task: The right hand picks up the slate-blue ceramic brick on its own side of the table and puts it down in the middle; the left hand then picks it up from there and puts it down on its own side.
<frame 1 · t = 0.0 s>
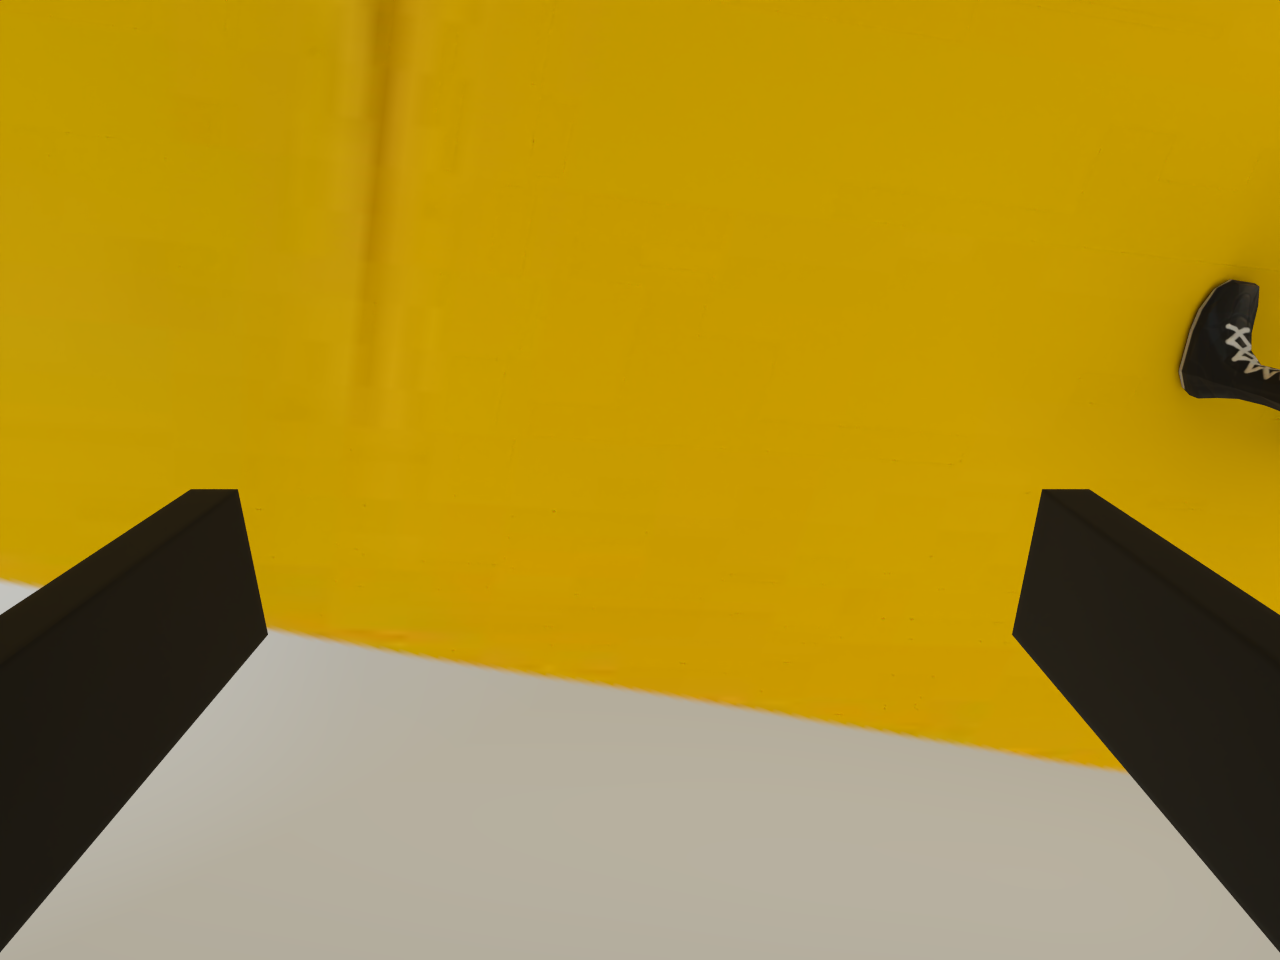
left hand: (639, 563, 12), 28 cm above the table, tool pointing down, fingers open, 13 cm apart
figurine: (1274, 366, 40), on the table
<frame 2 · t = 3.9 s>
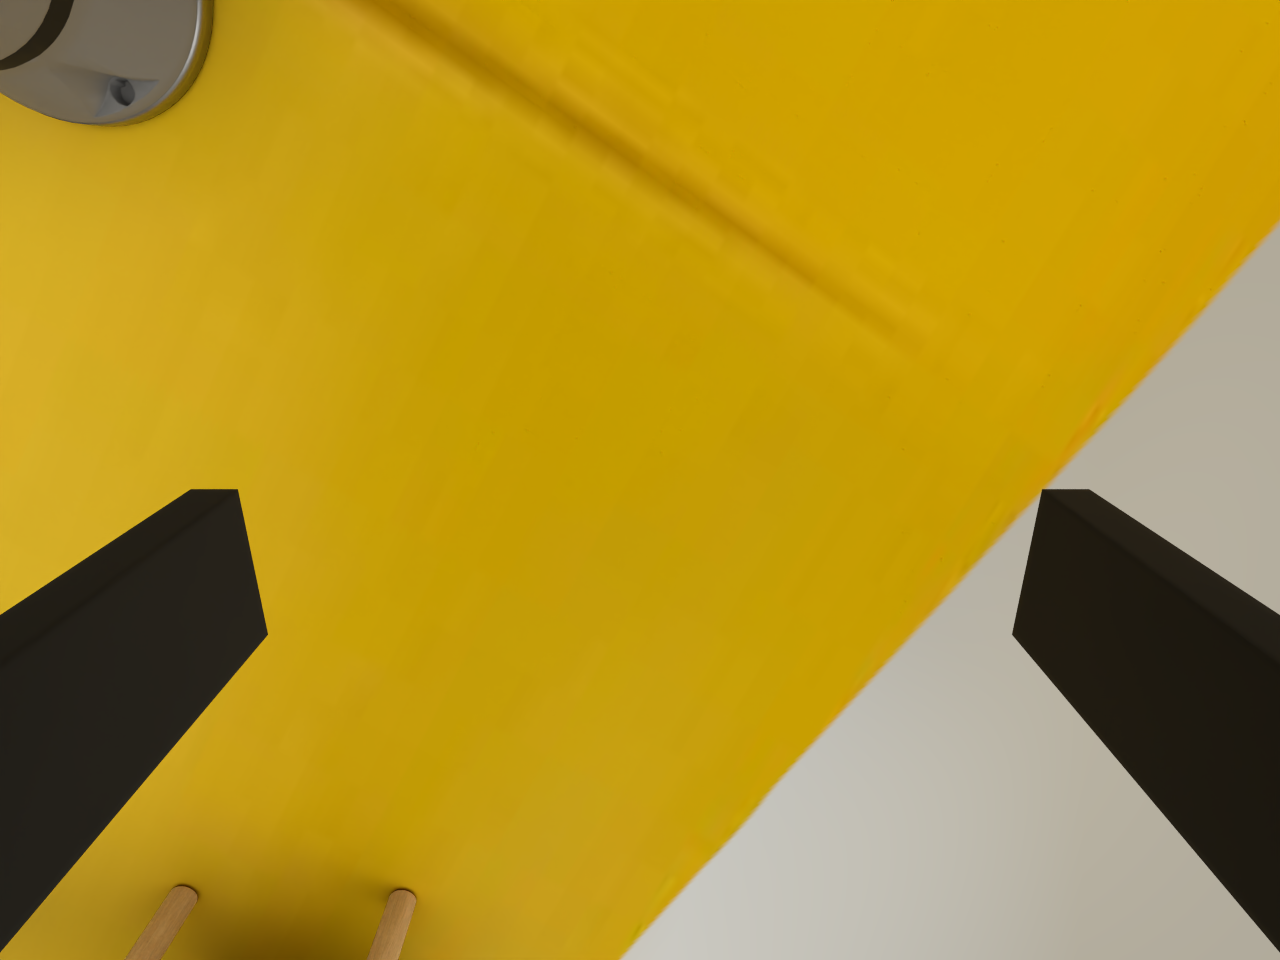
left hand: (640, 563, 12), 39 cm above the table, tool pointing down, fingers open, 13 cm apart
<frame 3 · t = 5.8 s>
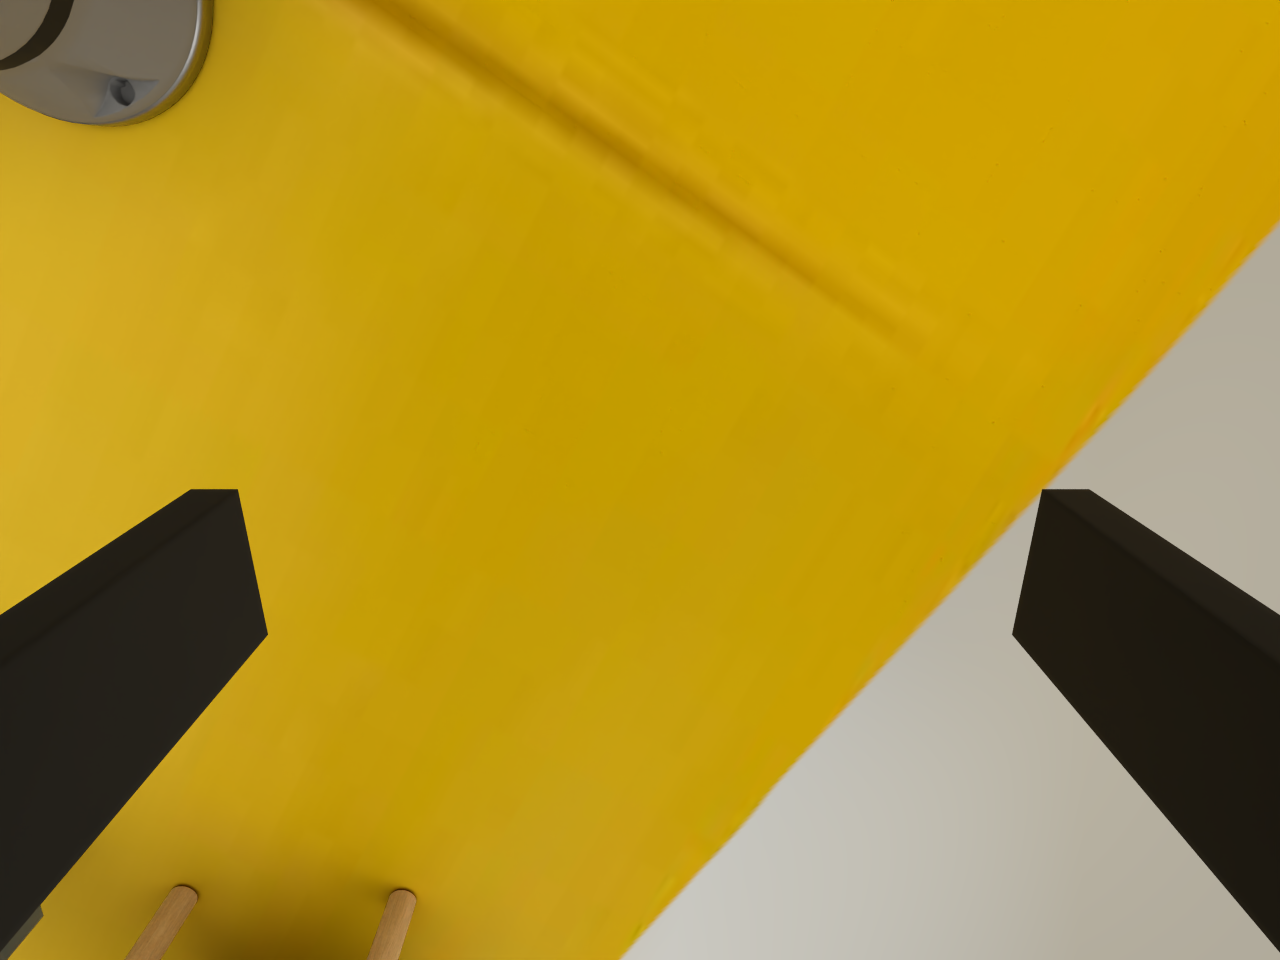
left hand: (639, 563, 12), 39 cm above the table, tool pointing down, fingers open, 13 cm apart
when the right hand's fingers open (5 cm above the table, at t = 7.9 s): brick drops 1 cm, on the table.
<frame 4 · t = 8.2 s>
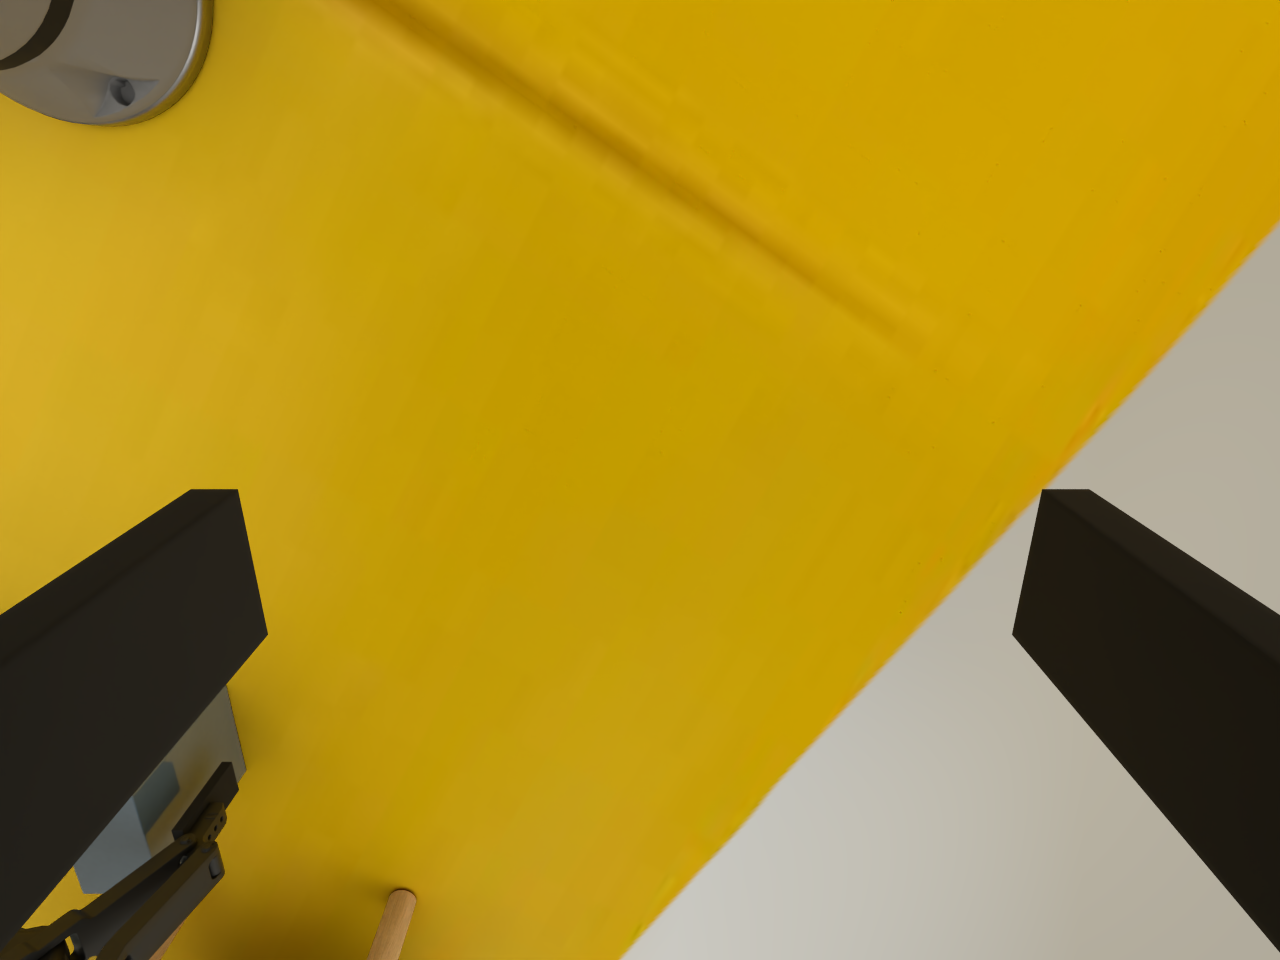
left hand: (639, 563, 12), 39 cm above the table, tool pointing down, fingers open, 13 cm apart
right hand: (165, 776, 57), fingers open, 9 cm apart
brick: (203, 728, 62), on the table
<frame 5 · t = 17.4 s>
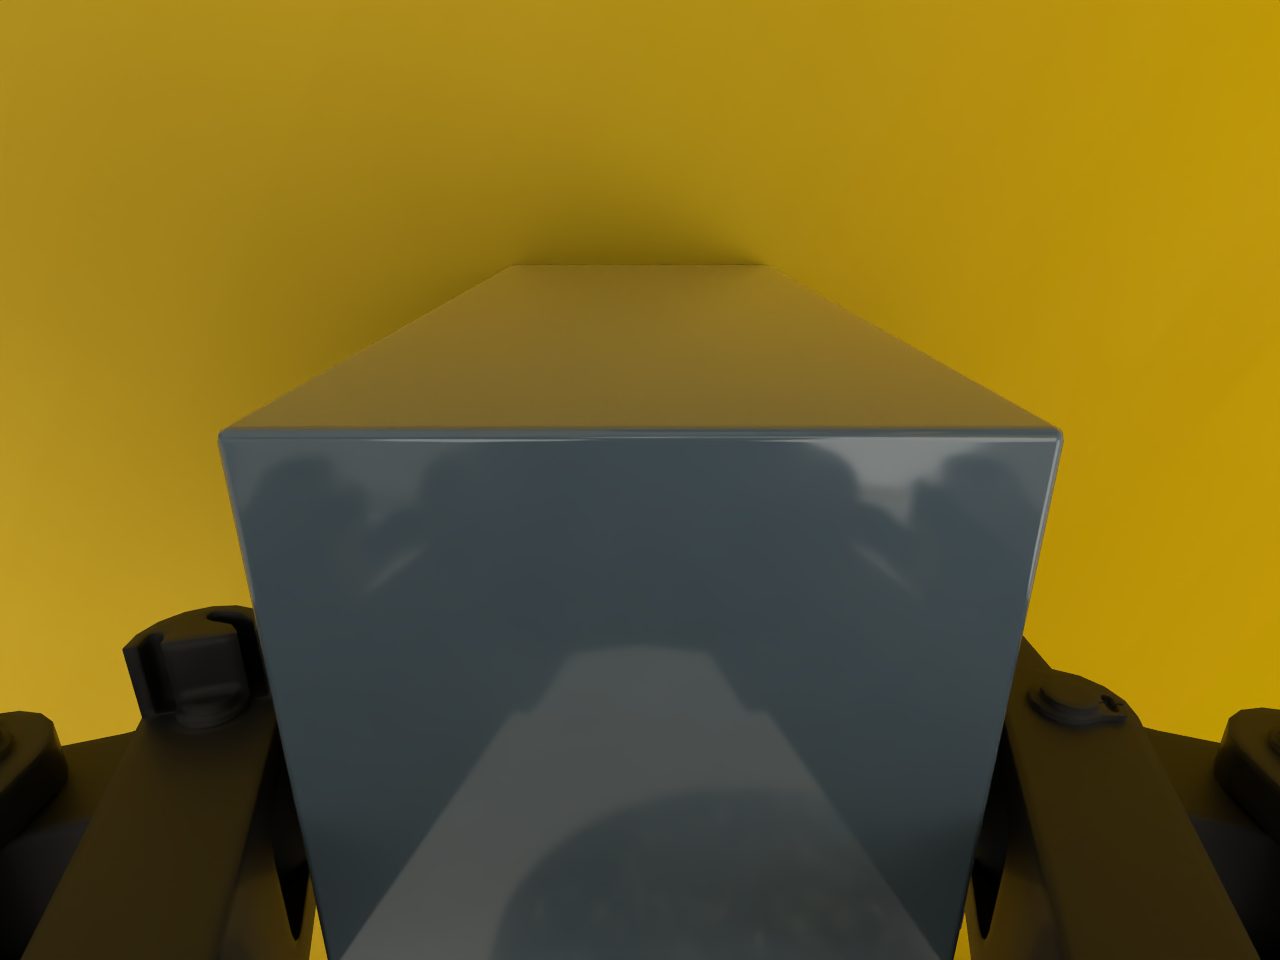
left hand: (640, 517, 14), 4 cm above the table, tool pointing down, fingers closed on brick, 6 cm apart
brick: (639, 457, 18), on the table, touching left hand
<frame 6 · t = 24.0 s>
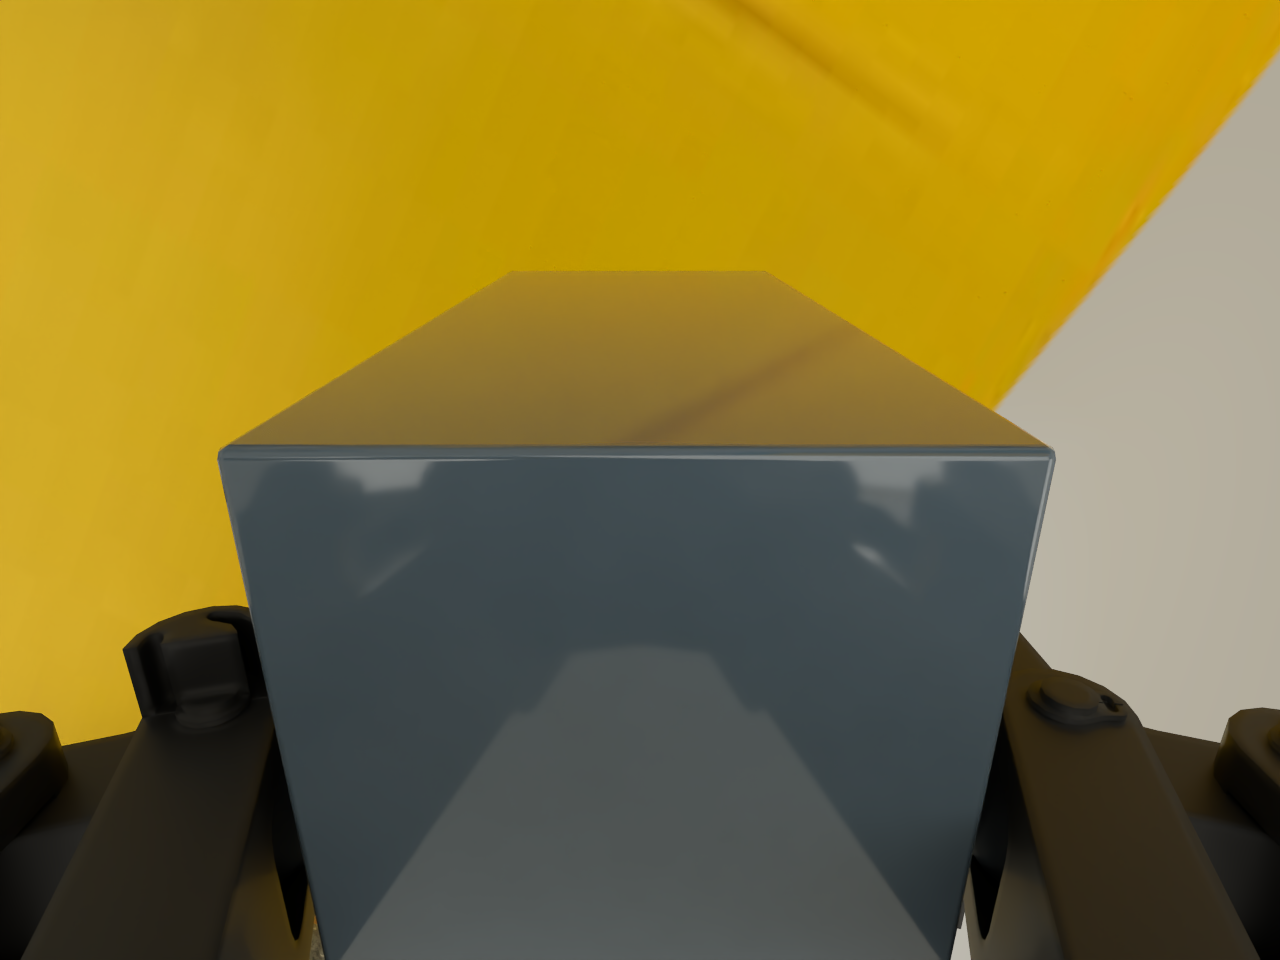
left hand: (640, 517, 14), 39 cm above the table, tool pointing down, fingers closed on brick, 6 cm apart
planter: (321, 869, 70), on the table
brick: (638, 462, 18), point 35 cm above the table, touching left hand
when the left hand's fingers open (5 cm above the table, at t = 30.4 s): brick drops 1 cm, on the table.
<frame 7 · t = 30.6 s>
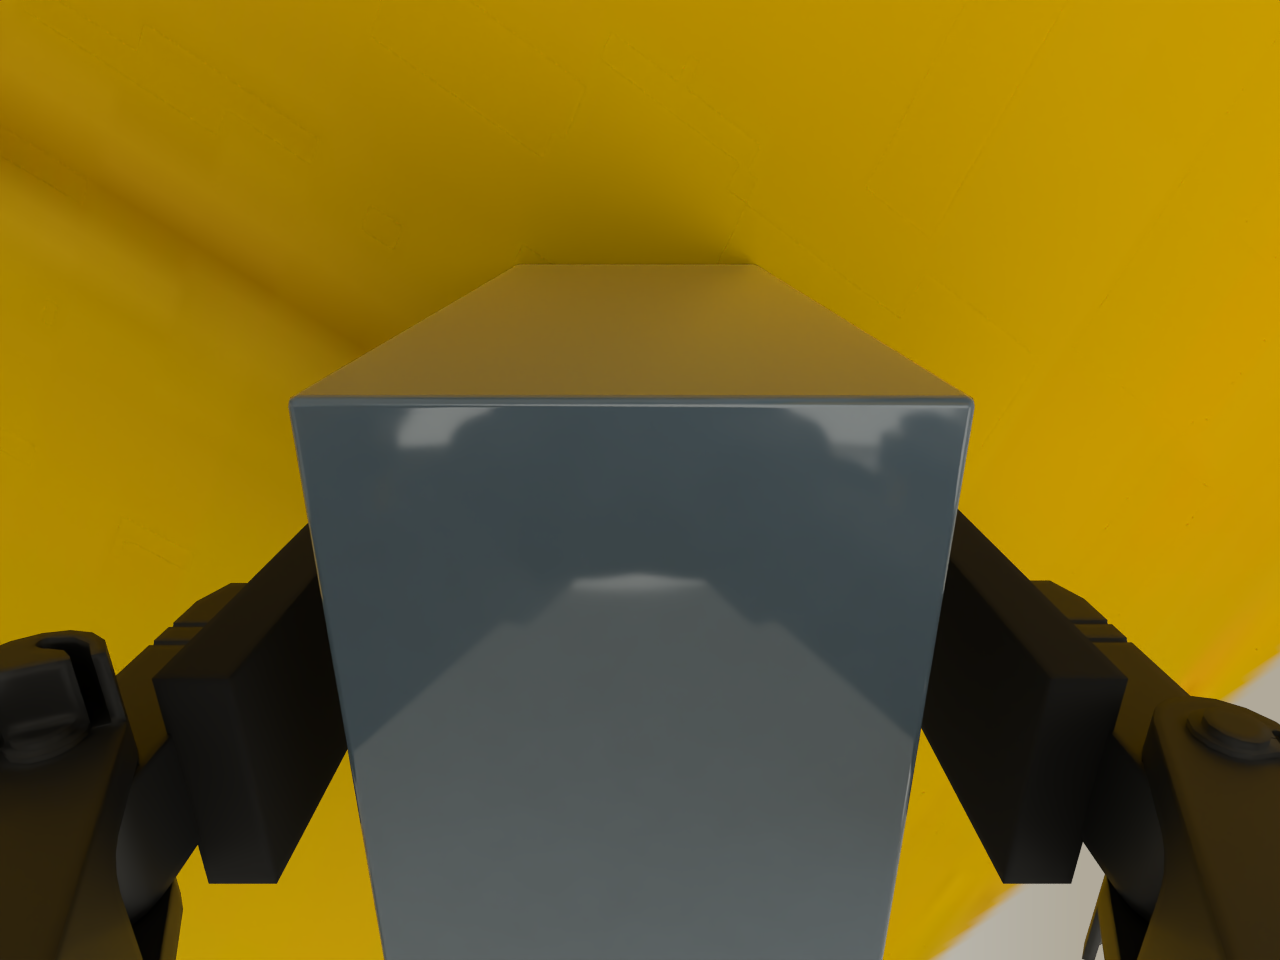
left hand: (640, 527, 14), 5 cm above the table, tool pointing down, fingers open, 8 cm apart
brick: (636, 444, 19), on the table
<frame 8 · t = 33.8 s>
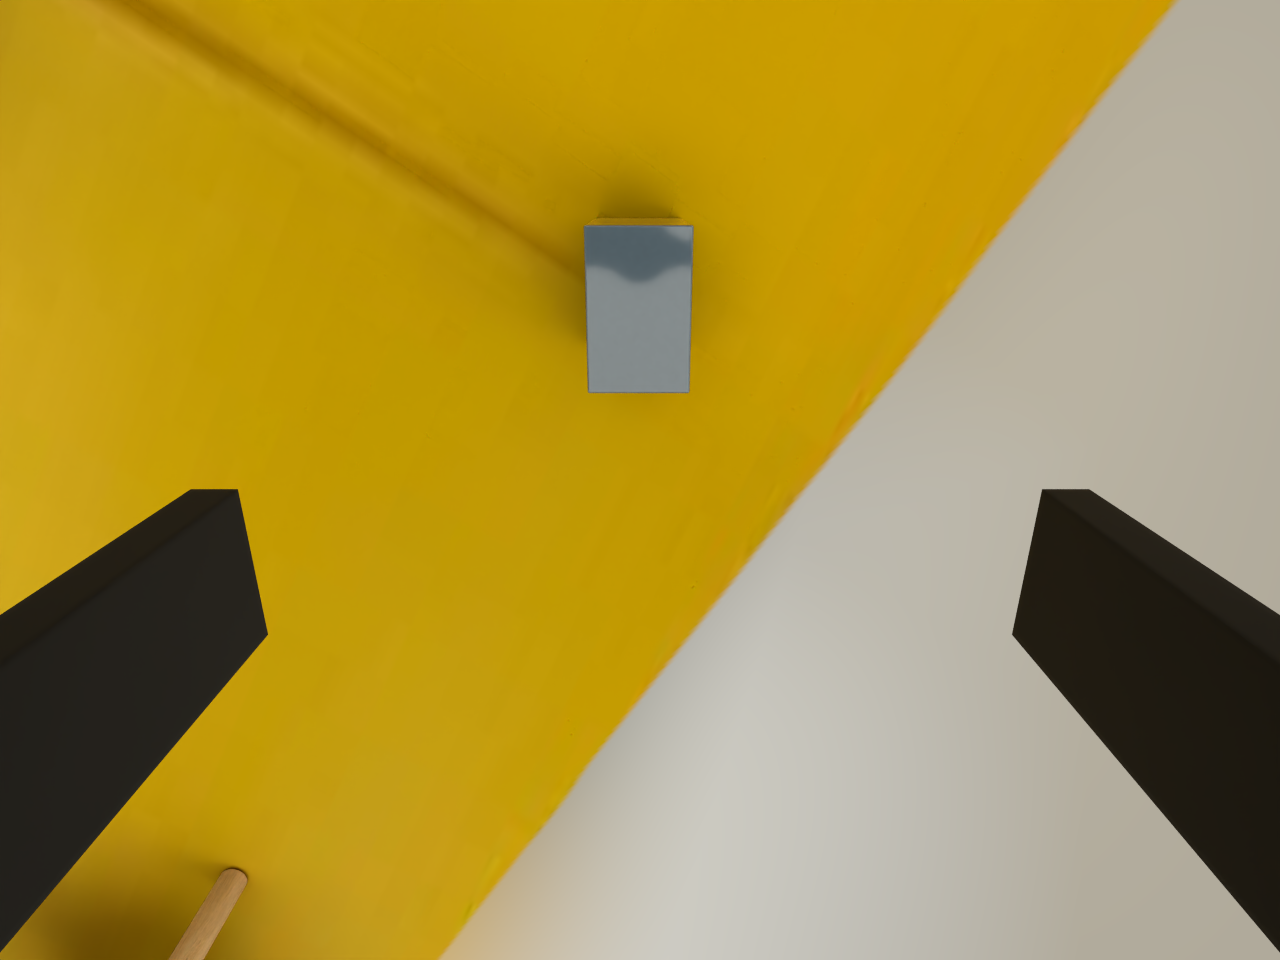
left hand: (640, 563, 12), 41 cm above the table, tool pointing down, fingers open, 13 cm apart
planter: (150, 950, 73), on the table
brick: (638, 286, 51), on the table
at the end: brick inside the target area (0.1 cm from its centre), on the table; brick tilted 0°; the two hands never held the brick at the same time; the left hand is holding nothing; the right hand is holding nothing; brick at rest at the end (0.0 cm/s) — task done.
